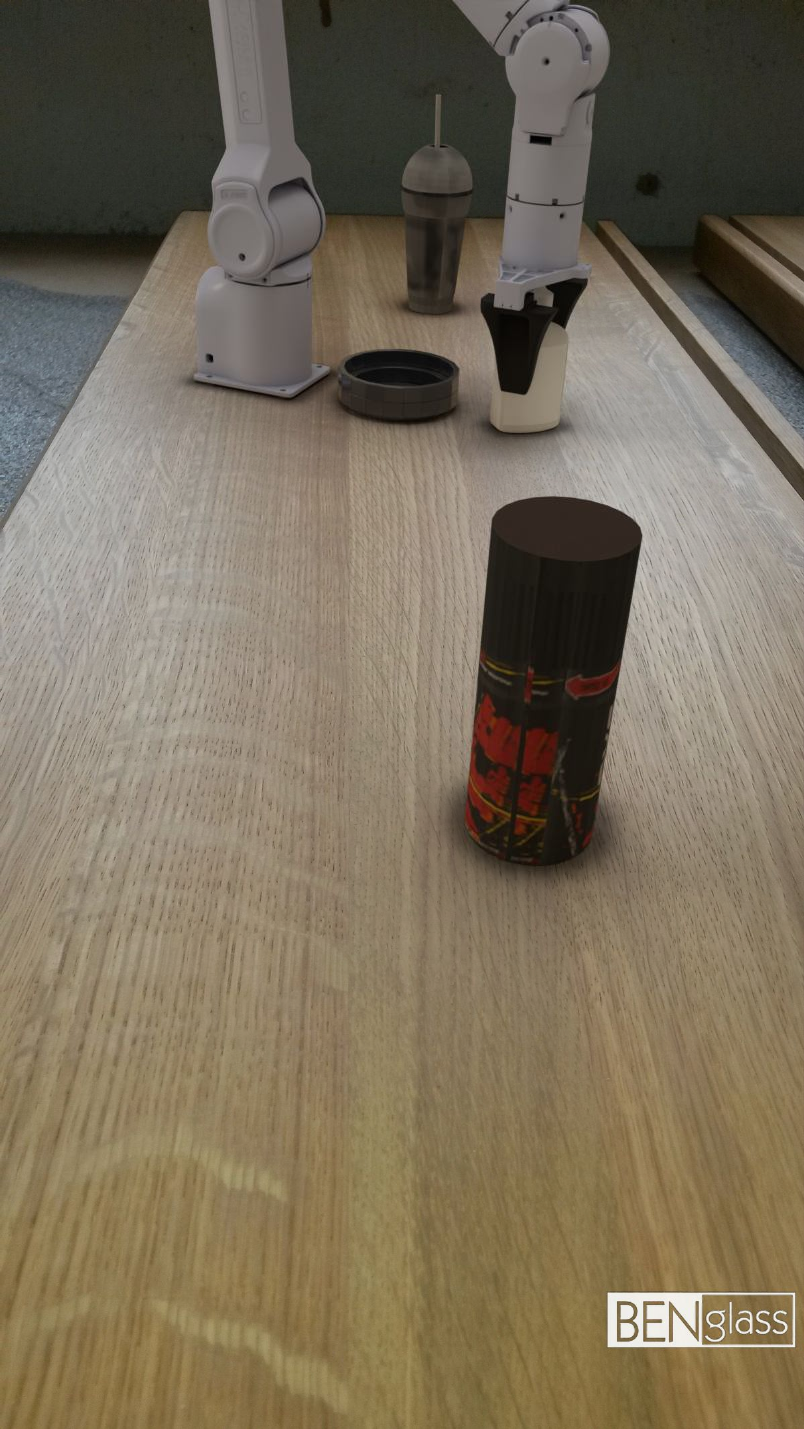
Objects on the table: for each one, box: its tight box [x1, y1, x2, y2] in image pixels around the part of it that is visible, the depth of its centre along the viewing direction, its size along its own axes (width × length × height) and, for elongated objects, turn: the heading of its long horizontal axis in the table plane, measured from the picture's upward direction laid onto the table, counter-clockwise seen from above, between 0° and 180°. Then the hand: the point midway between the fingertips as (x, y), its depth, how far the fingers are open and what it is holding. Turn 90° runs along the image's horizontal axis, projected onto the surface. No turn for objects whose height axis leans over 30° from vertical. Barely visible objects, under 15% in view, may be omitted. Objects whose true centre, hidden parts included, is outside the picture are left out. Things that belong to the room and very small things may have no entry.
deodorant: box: [464, 495, 643, 866], centre depth 52 cm, size 6×6×15 cm
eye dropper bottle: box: [489, 286, 570, 434], centre depth 96 cm, size 4×6×12 cm
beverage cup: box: [399, 94, 475, 315], centre depth 121 cm, size 7×7×20 cm
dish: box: [337, 348, 461, 422], centre depth 102 cm, size 10×10×3 cm
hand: (526, 379), depth 97 cm, fingers open, 6 cm apart
